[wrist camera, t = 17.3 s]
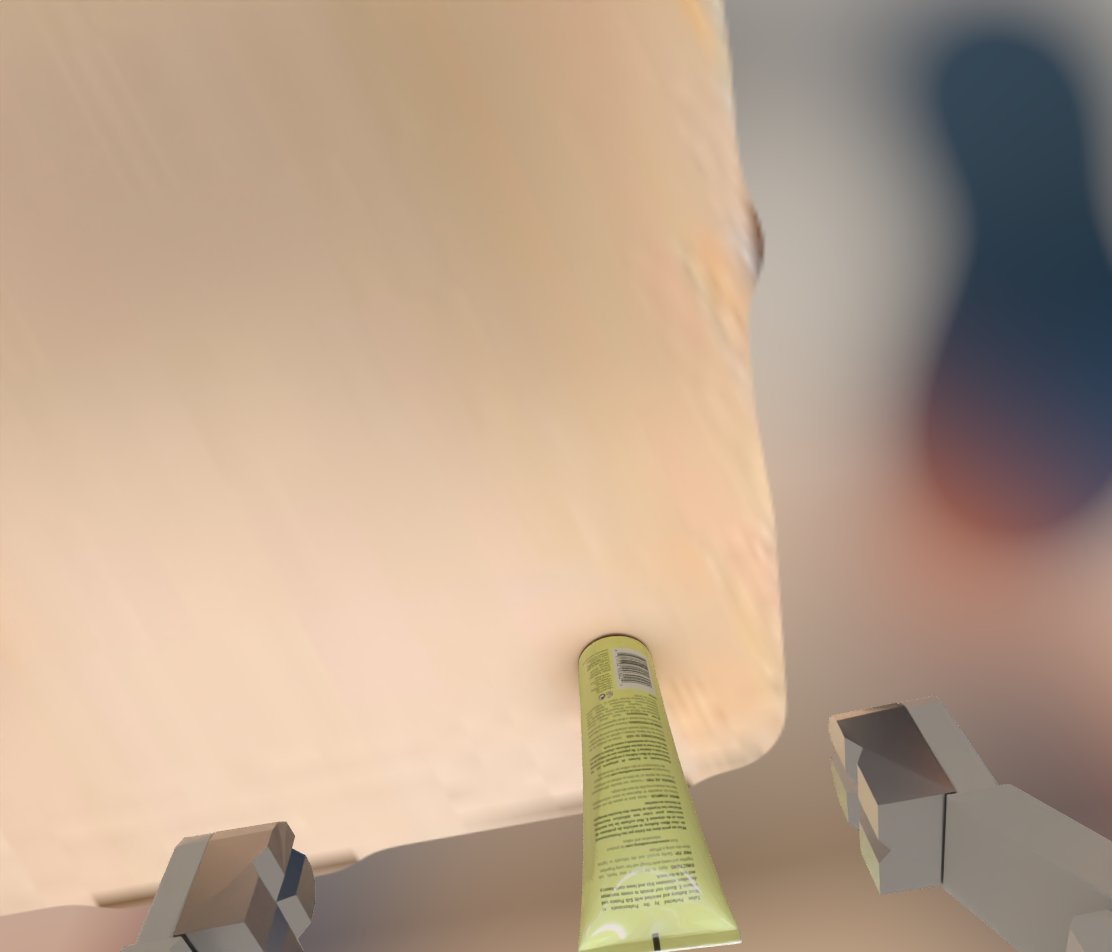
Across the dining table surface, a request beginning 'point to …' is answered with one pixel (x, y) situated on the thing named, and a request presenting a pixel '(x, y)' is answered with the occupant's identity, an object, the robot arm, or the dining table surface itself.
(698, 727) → the dining table surface
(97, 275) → the dining table surface
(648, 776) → the tube
